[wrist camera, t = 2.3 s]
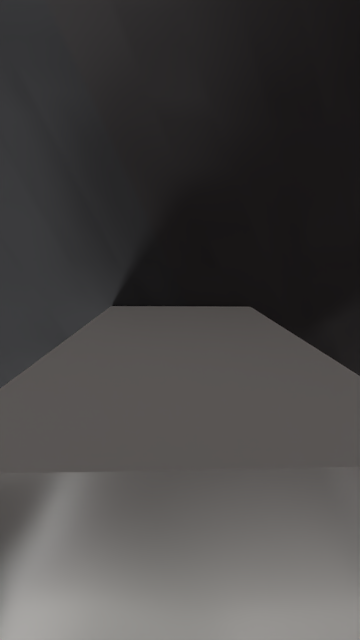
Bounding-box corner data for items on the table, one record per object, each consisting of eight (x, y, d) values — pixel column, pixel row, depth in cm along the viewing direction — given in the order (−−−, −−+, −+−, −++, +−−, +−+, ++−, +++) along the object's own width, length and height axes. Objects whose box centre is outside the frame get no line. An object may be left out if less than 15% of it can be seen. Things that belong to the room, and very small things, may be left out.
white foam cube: (122, 418, 13) (27, 708, 5) (111, 306, 11) (-117, 475, 2) (237, 417, 13) (345, 693, 5) (250, 306, 11) (498, 464, 3)
